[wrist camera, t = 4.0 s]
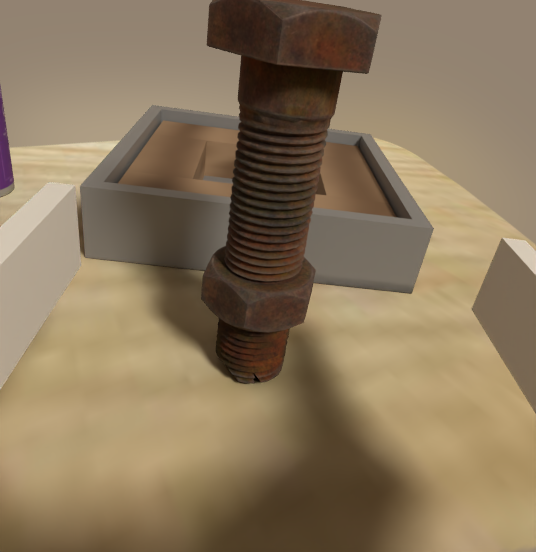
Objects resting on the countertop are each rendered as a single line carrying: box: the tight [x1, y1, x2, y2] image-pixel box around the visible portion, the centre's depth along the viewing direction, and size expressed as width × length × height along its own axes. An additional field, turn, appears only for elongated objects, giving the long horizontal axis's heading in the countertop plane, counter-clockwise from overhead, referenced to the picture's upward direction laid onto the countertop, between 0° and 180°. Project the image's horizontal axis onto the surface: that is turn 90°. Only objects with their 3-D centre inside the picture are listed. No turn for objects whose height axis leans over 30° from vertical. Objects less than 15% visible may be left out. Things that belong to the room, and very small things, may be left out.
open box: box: [80, 105, 434, 293], centre depth 37 cm, size 20×20×4 cm
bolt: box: [201, 0, 381, 383], centre depth 19 cm, size 6×5×15 cm
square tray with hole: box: [118, 120, 396, 217], centre depth 37 cm, size 18×18×3 cm
